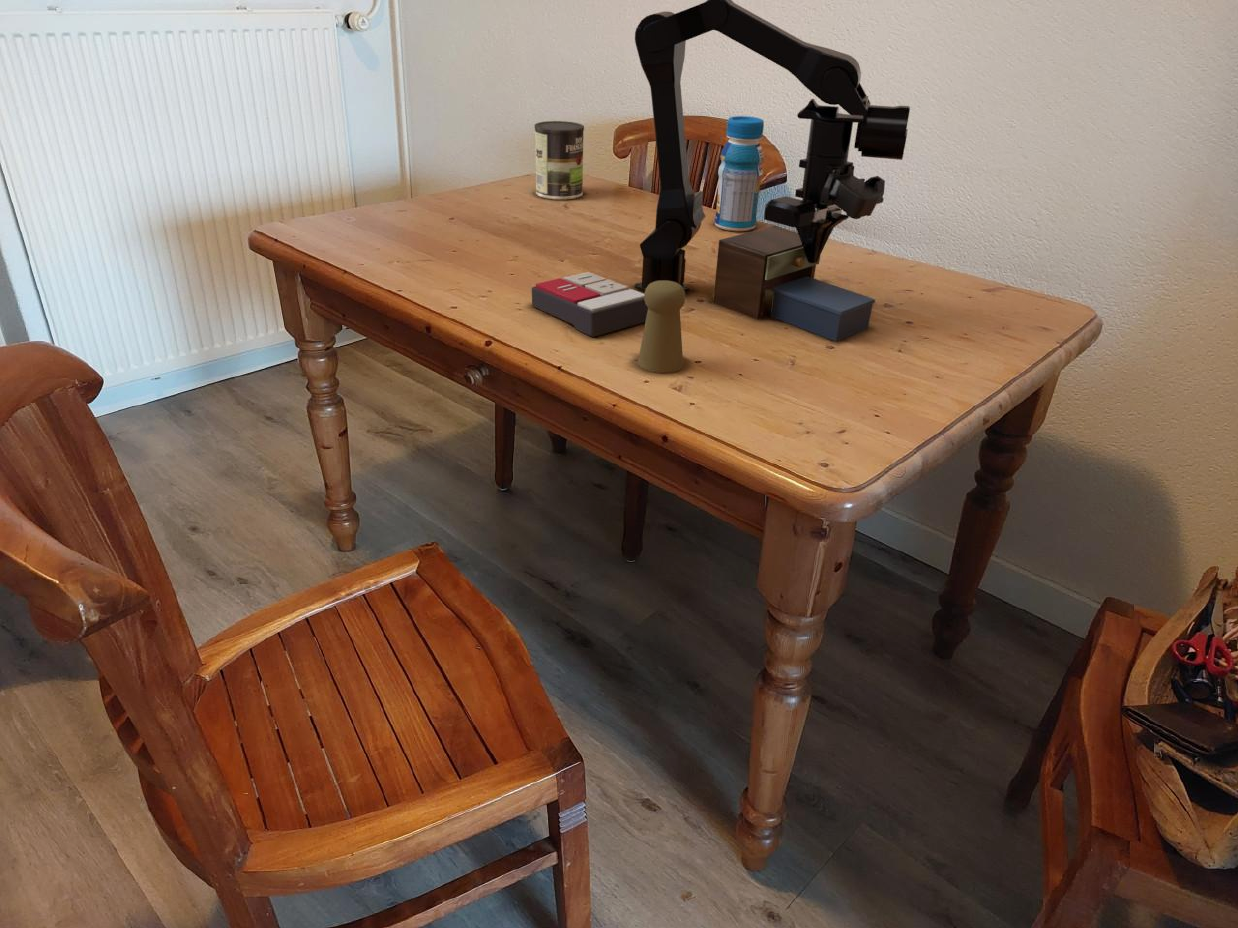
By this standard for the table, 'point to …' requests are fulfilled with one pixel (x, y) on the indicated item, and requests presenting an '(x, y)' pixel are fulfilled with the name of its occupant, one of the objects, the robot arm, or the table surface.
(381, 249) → the table surface
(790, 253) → the drawer
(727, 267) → the drawer unit
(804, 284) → the storage box
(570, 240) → the table surface
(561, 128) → the coffee can
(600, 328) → the calculator
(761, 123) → the beverage bottle
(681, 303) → the olive pawn
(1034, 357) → the table surface
